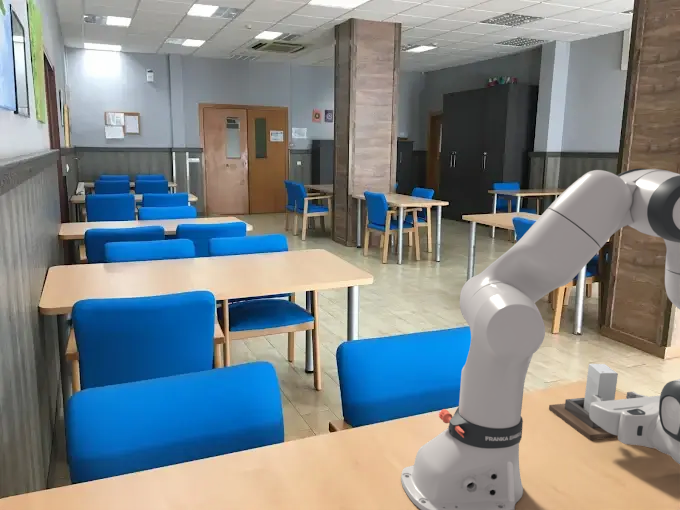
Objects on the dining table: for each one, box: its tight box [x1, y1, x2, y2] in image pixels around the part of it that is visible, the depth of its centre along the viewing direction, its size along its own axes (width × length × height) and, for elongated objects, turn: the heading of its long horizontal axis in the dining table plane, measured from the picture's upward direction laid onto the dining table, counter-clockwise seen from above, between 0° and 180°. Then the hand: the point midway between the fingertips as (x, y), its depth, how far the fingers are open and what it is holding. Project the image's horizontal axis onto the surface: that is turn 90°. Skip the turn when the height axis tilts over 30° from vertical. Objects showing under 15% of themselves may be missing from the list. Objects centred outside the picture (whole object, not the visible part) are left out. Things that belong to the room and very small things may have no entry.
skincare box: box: [583, 363, 619, 412], centre depth 132 cm, size 6×4×12 cm
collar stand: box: [548, 397, 618, 441], centre depth 133 cm, size 15×15×4 cm
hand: (611, 396), depth 128 cm, fingers open, 8 cm apart
